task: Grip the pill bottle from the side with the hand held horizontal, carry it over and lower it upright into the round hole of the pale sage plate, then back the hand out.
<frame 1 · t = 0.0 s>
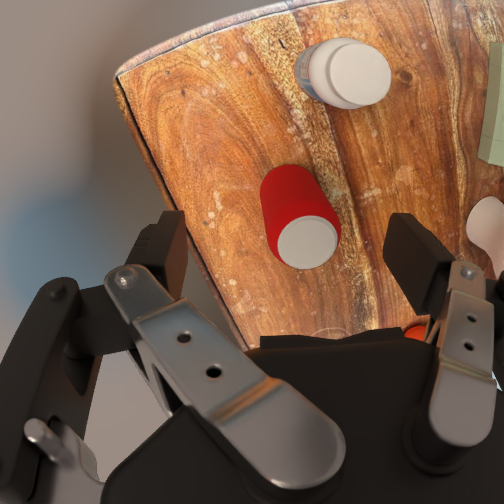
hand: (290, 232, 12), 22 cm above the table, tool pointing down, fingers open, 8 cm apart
cup: (484, 219, 38), on the table
clementine: (409, 330, 49), on the table
beverage can: (287, 187, 35), on the table
pill bottle: (322, 71, 28), on the table
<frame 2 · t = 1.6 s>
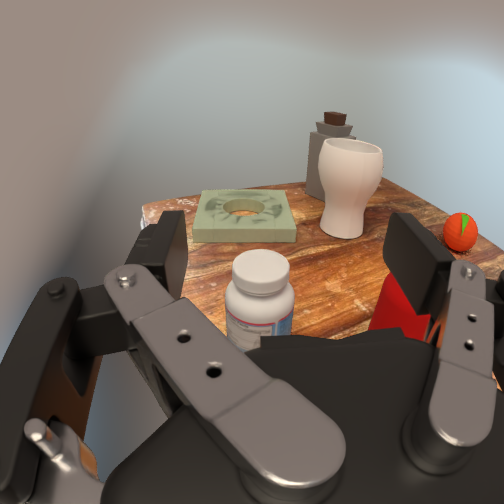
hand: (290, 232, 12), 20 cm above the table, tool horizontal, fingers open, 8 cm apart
cup: (341, 229, 56), on the table
clementine: (454, 250, 51), on the table
perfume bottle: (326, 195, 68), on the table
hole plate: (243, 219, 57), on the table
beverage can: (382, 368, 30), on the table
pill bottle: (257, 355, 32), on the table
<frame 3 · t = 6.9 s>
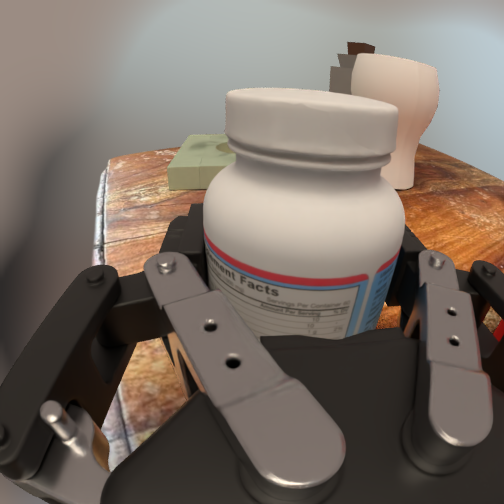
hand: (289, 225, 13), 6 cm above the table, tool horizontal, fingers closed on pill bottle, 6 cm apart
cup: (383, 180, 37), on the table
perfume bottle: (353, 149, 50), on the table
hole plate: (245, 165, 39), on the table
pill bottle: (283, 375, 14), on the table, touching gripper
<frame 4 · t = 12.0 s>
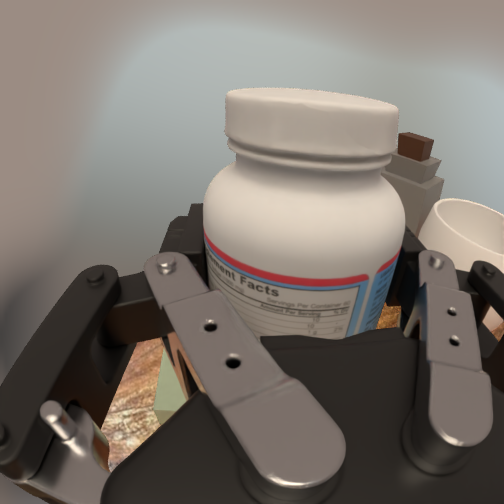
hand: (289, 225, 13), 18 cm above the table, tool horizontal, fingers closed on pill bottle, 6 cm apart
cup: (426, 359, 28), on the table
perfume bottle: (386, 272, 40), on the table
hole plate: (255, 351, 29), on the table
pill bottle: (284, 375, 14), point 11 cm above the table, touching gripper
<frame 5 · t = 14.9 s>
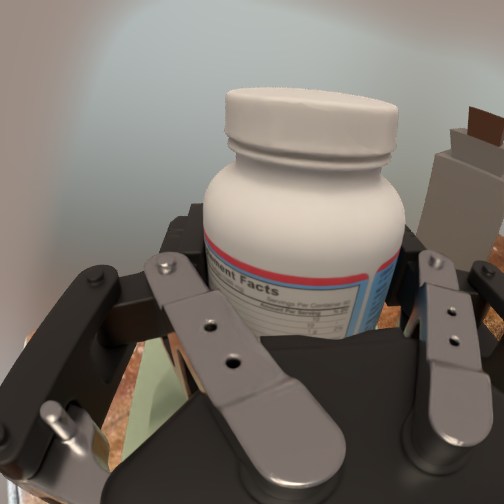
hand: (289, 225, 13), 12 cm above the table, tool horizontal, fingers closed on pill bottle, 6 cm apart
perfume bottle: (438, 294, 28), on the table
hole plate: (271, 429, 17), on the table
pill bottle: (284, 375, 14), point 6 cm above the table, touching gripper
when the fingers open (6 cm above the table, at t = 17.2 s): pill bottle stays where it is, resting in hole plate.
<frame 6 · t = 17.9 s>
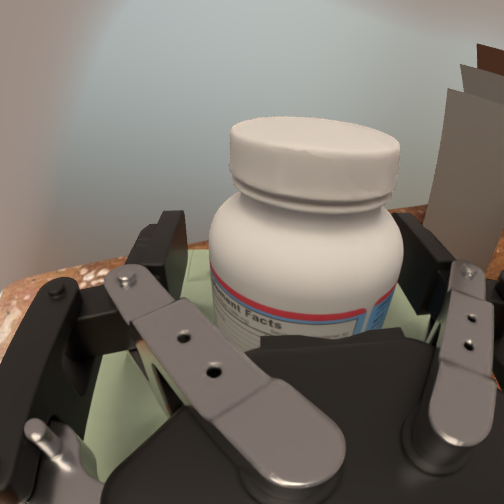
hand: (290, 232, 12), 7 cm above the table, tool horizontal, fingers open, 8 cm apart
perfume bottle: (459, 249, 25), on the table
hole plate: (283, 384, 14), on the table
pill bottle: (286, 389, 14), resting in hole plate
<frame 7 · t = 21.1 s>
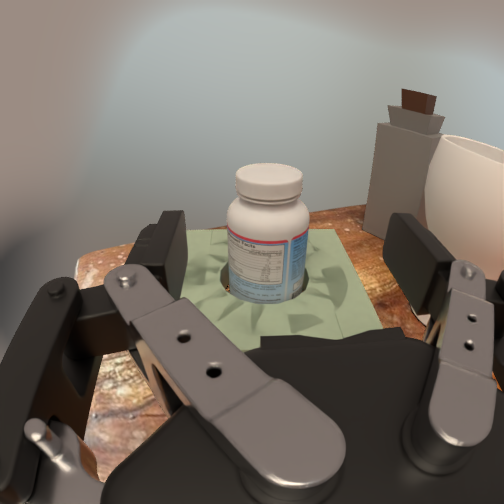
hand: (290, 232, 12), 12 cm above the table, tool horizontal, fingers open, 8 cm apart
cup: (444, 310, 26), on the table
perfume bottle: (395, 233, 39), on the table
hole plate: (263, 298, 28), on the table
pill bottle: (264, 301, 28), resting in hole plate
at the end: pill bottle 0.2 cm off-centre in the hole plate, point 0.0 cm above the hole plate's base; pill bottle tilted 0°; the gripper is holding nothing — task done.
